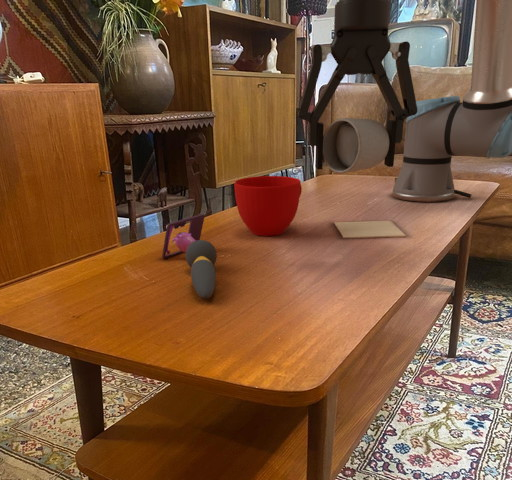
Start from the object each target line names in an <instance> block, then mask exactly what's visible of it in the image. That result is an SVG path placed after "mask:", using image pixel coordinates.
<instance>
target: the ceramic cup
mask: <svg viewBox="0 0 512 480" xmlns="http://www.w3.org/2000/svg"><path fill="white" fill-rule="evenodd" d="M233 185H234V196H235V202H236V208H237V211H238V214H239V217H240V219H241V220H242V222H243V223H244V225H245V226H246V228H247V229H249V231H251V233H252V234H253V235H256V236H262V237H271V236H278V235H282V234H284V233H285V231H286V230H287V229H288V228H289V226H290V225H291V224H292V222H293V221H294V219H295V217H296V215H297V212H298V210H299V209H298V208H299V203H300V198H301V195H302V191H303V190H302V189H303V188H302V184H301V179H299V178H298V177H297V178H296V177H293V176H292V177H291V176H283V175H261V176H258V175H257V176H248V177H244V178H239V179H237V180H235V181H234V184H233Z"/></svg>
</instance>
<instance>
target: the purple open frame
mask: <svg viewBox="0 0 512 480" xmlns="http://www.w3.org/2000/svg"><path fill="white" fill-rule="evenodd" d="M205 215H206V214H204V213H200V214H196V215H194V216H193V215H192V216H189V217H186V218H183V219H180V220H175V221H173V222H169V223H167V224H166V226H165V236H164V241H163V248H162V254H161V258H162V259H163V260H166V259H168V258H171V257H175V256H177V255H180V254H182V253H184V254H186V250H187V247H188V246H189V245H190V244H191V243H192V242H194V241H197V240H201V235H202V231H203V225H204V221H205ZM187 222H189V225H188V232H186V231H184V232H182V231H180V232H179V233H176V235H175V237H173V238H172V240H171V242H172V243H173V245H176V247H177V248H178V249H179V250H178V251H176V252H173V253H172V252H171V251H170V250H169V244H170V239H171V235H172V233H173V230H177V229H179V228H184V227H185V226H186V224H187Z"/></svg>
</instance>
